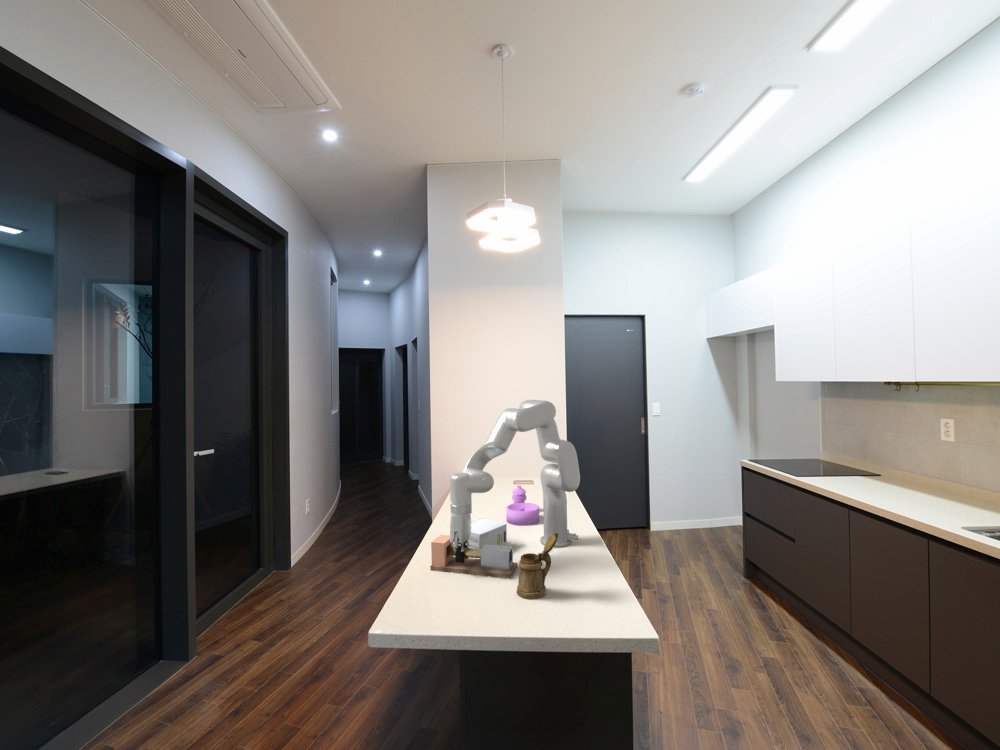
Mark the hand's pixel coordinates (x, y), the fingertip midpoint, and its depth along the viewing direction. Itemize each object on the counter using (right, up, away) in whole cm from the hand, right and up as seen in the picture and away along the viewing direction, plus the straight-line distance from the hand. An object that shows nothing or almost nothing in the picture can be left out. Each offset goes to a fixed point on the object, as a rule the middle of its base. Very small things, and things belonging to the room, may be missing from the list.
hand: (462, 559), depth 166 cm
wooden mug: (+25, -2, -20) cm, 32 cm away
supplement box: (+6, -3, +18) cm, 19 cm away
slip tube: (+3, +1, -1) cm, 3 cm away
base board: (+4, -3, -1) cm, 5 cm away
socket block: (-7, -1, +2) cm, 8 cm away
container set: (+24, -3, +58) cm, 63 cm away
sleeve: (+12, -1, -4) cm, 13 cm away
